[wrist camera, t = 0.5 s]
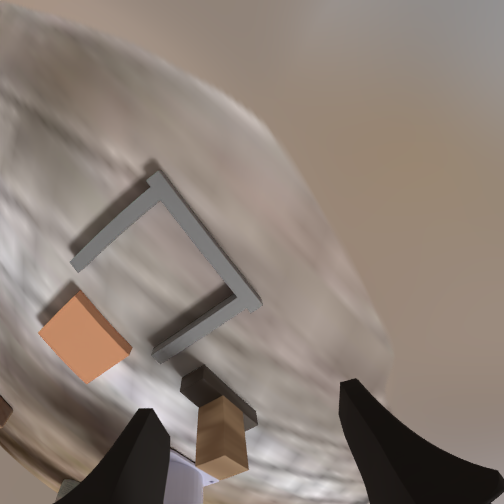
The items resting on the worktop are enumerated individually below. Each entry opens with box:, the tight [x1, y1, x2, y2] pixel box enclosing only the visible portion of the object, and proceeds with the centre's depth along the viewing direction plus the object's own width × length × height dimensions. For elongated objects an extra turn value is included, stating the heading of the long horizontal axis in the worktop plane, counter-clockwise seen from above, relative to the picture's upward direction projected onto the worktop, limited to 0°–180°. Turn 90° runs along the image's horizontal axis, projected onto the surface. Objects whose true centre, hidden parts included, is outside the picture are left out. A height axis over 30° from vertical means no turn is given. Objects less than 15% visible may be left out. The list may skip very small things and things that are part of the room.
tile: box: [38, 290, 132, 384], centre depth 20 cm, size 6×6×2 cm
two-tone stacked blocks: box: [180, 365, 258, 480], centre depth 19 cm, size 2×7×8 cm, turn 36°
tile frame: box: [70, 170, 263, 364], centre depth 19 cm, size 9×11×1 cm
